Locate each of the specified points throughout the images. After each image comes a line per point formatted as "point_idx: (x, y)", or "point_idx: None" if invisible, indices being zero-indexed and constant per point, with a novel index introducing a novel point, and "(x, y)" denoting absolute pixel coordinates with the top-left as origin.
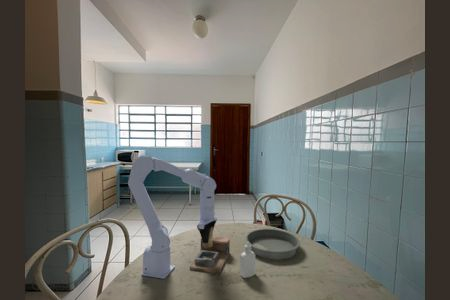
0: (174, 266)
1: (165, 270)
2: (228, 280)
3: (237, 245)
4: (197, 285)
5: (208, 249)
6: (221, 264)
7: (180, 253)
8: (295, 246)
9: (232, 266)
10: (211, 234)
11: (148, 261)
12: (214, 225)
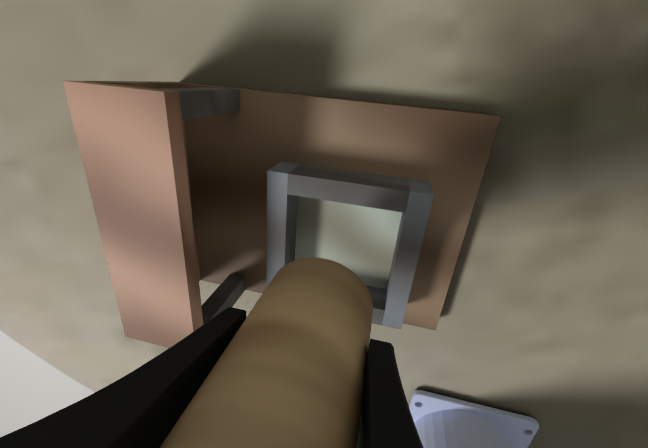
0: (422, 395)
1: (507, 443)
2: (607, 16)
3: (44, 28)
4: (634, 252)
5: (202, 246)
6: (392, 119)
7: None
8: None
9: (375, 17)
10: (307, 385)
11: None
12: (37, 429)
